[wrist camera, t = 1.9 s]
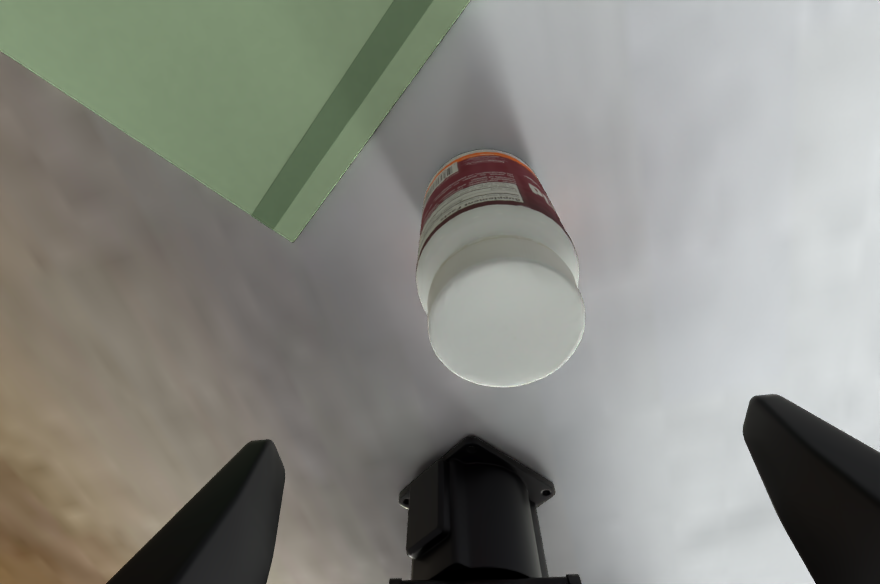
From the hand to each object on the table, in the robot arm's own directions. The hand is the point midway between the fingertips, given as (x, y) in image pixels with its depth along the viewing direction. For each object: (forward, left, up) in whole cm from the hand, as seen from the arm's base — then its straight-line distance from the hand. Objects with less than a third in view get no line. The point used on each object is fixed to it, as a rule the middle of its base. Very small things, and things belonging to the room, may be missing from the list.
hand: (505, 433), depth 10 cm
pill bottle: (0, 0, -12) cm, 12 cm away
